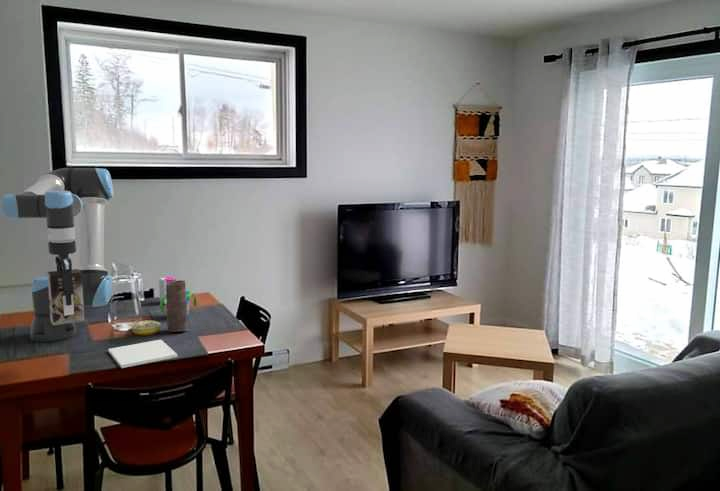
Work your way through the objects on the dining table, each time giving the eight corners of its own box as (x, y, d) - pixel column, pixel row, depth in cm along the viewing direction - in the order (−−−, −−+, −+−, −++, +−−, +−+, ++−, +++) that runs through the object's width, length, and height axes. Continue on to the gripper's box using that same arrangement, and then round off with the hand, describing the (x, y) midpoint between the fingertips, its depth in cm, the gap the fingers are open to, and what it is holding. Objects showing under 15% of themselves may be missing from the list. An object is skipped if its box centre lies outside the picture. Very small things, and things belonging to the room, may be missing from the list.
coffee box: (53, 325, 174) (49, 275, 171) (50, 320, 179) (46, 271, 176) (85, 321, 179) (81, 271, 176) (81, 315, 184) (78, 268, 181)
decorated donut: (158, 326, 223) (158, 317, 223) (162, 334, 214) (162, 324, 213) (130, 329, 219) (130, 320, 218) (133, 338, 209) (133, 328, 209)
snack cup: (192, 310, 245) (192, 288, 244) (201, 316, 237) (200, 293, 235) (156, 316, 236) (155, 292, 234) (164, 322, 228) (163, 298, 226)
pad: (108, 351, 194) (108, 348, 194) (161, 342, 205) (161, 339, 205) (121, 368, 180) (121, 365, 180) (177, 357, 191) (177, 354, 190)
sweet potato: (181, 335, 213) (179, 284, 210) (163, 333, 214) (161, 282, 211) (191, 329, 220) (189, 279, 217) (174, 327, 222) (172, 278, 218)
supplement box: (164, 305, 253) (163, 280, 251) (159, 302, 257) (158, 278, 256) (177, 303, 257) (176, 278, 255) (171, 300, 261) (170, 276, 259)
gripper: (43, 237, 180) (49, 306, 184) (53, 246, 164) (58, 321, 169) (69, 235, 184) (74, 302, 188) (81, 244, 169) (86, 317, 173)
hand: (67, 311), depth 178 cm, fingers closed on coffee box, 6 cm apart
